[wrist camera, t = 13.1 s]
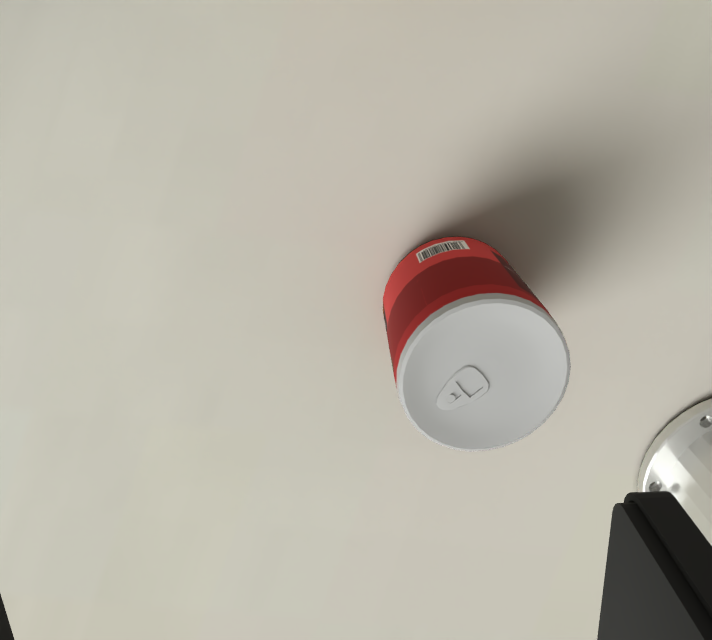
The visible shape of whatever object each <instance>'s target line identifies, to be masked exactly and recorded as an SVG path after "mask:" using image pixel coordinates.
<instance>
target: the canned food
mask: <svg viewBox="0 0 712 640" xmlns="http://www.w3.org/2000/svg"><path fill="white" fill-rule="evenodd" d="M383 314H384V319H385V325H386V331H387V337H388V343H389V349H390V354H391V360H392V366H393V372H394V377H395V382H396V387H397V391H398V396H399V400H400V402H401V404H402V407H403V409H404V411H405V413H406V416H407V418H408V419H409V420H410V422H411V423H412V424H413V426H414V427H415V428H416V429H417V430H418V431H419V432H420V433H422V434H423V435H424V436H425V437H426V438H428V439H430V440H431V441H433V442H435V443H437V444H439V445H441V446H445V447H448V448H451V449H454V450H462V451H487V450H492V449H496V448H501V447H504V446H507V445H509V444H512V443H514V442H517V441H519V440H520V439H522V438H524V437H526V436H527V435H529V434H531V433H532V432H533V431H535V430H536V429H537V428H538V427H540V426H541V425H542V424H543V423H544V422H545V421H546V420H547V419H548V418H549V417H550V415H551V414H552V413H553V412H554V411H555V410H556V408H557V406H558V404H559V403H560V401H561V399H562V398H563V396H564V393H565V390H566V387H567V385H568V382H569V375H570V367H571V366H570V354H569V350H568V347H567V343H566V340H565V338H564V336H563V334H562V331H561V330H560V328H559V327H558V325H557V323H556V322H555V320H554V319H553V318H552V316H551V315H550V314H549V312H548V311H547V309H546V308H545V307H544V306H543V305H542V303H541V302H540V301H539V300H538V299H537V297H536V296H535V295H534V294H533V292H532V291H531V290H530V289H529V288H528V286H527V285H526V284H525V283H524V282H523V280H522V279H521V278H520V277H519V276H518V274H517V273H516V272H515V271H514V270H513V268H512V267H511V266H510V265H509V264H508V262H507V261H506V260H505V259H504V258H503V257H502V256H501V255H500V254H499V253H498V252H497V251H496V250H495V249H494V248H492V247H490V246H489V245H487V244H486V243H484V242H481V241H478V240H475V239H472V238H465V237H445V238H441V239H437V240H432V241H430V242H428V243H425V244H423V245H421V246H419V247H418V248H416V249H415V250H413V251H412V252H410V253H409V254H408V255H407V256H406V257H405V258H404V259H403V260H402V261H401V262H400V263H399V264H398V265H397V267H396V268H395V270H394V271H393V273H392V274H391V276H390V278H389V280H388V283H387V285H386V288H385V292H384V297H383Z"/></svg>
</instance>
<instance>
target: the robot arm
mask: <svg viewBox="0 0 712 640" xmlns="http://www.w3.org/2000/svg"><path fill="white" fill-rule="evenodd" d="M637 486H638V492H632V493H628V494H627V495H626V497H625V499H624V503H617V504H615V506H614V507H613V512H612V520H611V529H610V537H609V546H608V554H607V562H606V571H605V579H604V587H603V596H602V604H601V613H600V621H599V629H598V639H597V640H712V398H711V399H709V400H706V401H704V402H701V403H699V404H697V405H695V406H694V407H692V408H690V409H688V410H687V411H685V412H683V413H682V414H681V415H679V416H678V417H677V418H676V419H674V420H673V421H672V422H671V423H669V424H668V425H667V426H666V427H665V428H664V429H663V431H662V432H661V433H660V434H659V435H658V436H657V437H656V438H655V440H654V441H653V443H652V445H651V446H650V448H649V449H648V451H647V452H646V454H645V457H644V460H643V462H642V465H641V467H640V471H639V477H638V483H637ZM0 640H14V637H13V634H12V631H11V627H10V624H9V621H8V617H7V614H6V611H5V608H4V604H3V601H2V598H1V594H0Z"/></svg>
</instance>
